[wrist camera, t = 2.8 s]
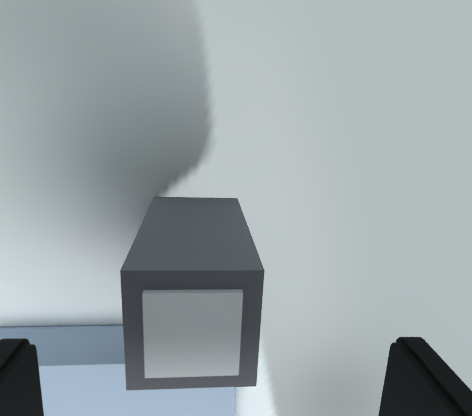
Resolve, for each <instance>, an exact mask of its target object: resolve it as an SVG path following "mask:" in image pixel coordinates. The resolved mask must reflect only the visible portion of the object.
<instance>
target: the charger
mask: <svg viewBox="0 0 472 416" xmlns="http://www.w3.org/2000/svg"><path fill="white" fill-rule="evenodd" d="M120 272H121V293H122V314H123V335H124V356H125V377H126V391H128V390H157V389H187V388H216V387H246V386H256V381H257V366H258V352H259V338H260V324H261V309H262V295H263V280H264V268H263V266H262V263H261V260H260V258H259V255H258V253H257V250H256V247H255V245H254V242H253V239H252V237H251V234H250V231H249V228H248V226H247V223H246V221H245V218H244V215H243V213H242V210H241V207H240V204H239V202H238V199H237V198H187V197H186V198H185V197H154V199H153V201H152V203H151V205H150V207H149V210H148V212H147V214H146V216H145V218H144V220H143V223H142V225H141V227H140V229H139V231H138V233H137V236H136V238H135V240H134V242H133V244H132V247H131V249H130V251H129V253H128V255H127V257H126V260H125V262H124V264H123V266H122V268H121V271H120Z"/></svg>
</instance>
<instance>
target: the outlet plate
mask: <svg viewBox="0 0 472 416" xmlns="http://www.w3.org/2000/svg"><path fill="white" fill-rule="evenodd" d="M4 338H26V339H28V340H29V342H30V344H34V345H35V346H36V349H37V357H38V366H39V375H40V384H41V393H42V402H43V411H44V416H234V408H235V389H236V387H216V388H187V389H157V390H128V391H126V377H125V356H124V335H123V325H112V326H52V327H0V340H1V339H4Z"/></svg>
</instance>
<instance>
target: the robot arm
mask: <svg viewBox="0 0 472 416" xmlns="http://www.w3.org/2000/svg"><path fill="white" fill-rule="evenodd" d="M0 416H44V411H43V402H42V393H41V384H40V375H39V366H38V357H37V349H36V346H35V345H34V344H30V342H29V340H28V339H26V338H4V339H1V340H0ZM379 416H472V391H471V390H470V389H469V388H468V387H467V386H466V385H465V383H464V382H463V381H462V380H461V379H460V378H459V377H458V376H457V375H456V374H455V373H454V371H453V370H452V369H450V367H449V366H448V365H447V364H446V363H445V362H444V361H443V360H442V359H441V357H440V356H439V355H438V354H437V353H436V352H435V351H434V350H433V349H432V348H431V347H430V346H429V345H428V343H426V341H425V340H424V339H422V338H421V337H399V338H398V339H397V340H396V343H392V344H391V346H390V351H389V357H388V363H387V370H386V375H385V381H384V386H383V393H382V398H381V404H380V410H379Z"/></svg>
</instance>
